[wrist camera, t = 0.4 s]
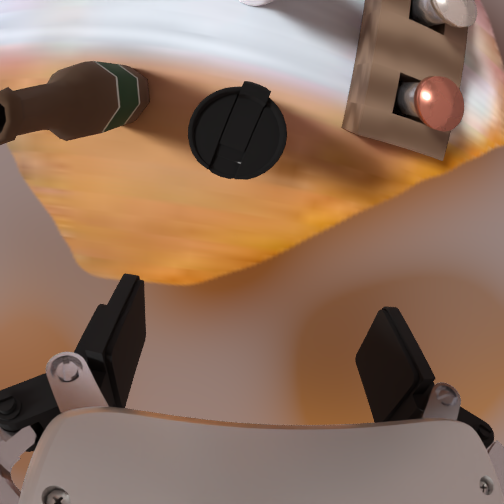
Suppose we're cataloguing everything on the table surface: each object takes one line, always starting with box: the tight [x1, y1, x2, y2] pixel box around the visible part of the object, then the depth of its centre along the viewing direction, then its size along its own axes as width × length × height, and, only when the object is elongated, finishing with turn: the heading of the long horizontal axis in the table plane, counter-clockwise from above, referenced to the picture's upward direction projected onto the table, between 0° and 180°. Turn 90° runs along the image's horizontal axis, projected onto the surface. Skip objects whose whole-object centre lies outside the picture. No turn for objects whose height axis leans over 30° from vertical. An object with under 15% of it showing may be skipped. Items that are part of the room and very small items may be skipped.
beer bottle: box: [0, 61, 150, 145], centre depth 23 cm, size 8×8×24 cm
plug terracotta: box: [394, 76, 464, 131], centre depth 28 cm, size 6×6×8 cm
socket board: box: [342, 0, 468, 161], centre depth 29 cm, size 24×12×6 cm, turn 171°
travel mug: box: [188, 81, 287, 179], centre depth 27 cm, size 6×7×20 cm
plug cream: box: [409, 0, 477, 28], centre depth 22 cm, size 6×6×8 cm
